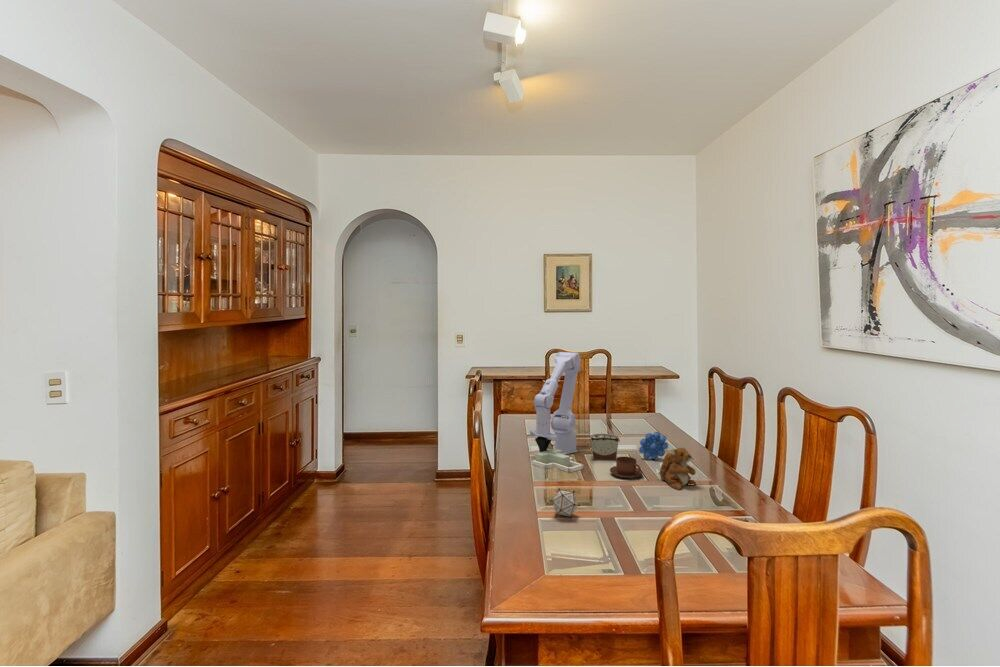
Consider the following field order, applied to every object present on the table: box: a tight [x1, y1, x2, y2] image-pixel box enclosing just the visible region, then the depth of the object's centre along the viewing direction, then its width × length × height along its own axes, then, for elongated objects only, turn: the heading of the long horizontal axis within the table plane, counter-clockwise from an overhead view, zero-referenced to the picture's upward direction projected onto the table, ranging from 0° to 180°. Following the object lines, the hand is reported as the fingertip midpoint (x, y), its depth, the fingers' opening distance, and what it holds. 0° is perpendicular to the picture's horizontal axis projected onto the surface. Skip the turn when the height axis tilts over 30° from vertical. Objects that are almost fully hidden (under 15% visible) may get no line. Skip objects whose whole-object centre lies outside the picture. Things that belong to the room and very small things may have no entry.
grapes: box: [638, 431, 669, 460], centre depth 213 cm, size 12×7×12 cm, turn 70°
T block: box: [534, 448, 571, 468], centre depth 207 cm, size 12×12×4 cm
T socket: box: [532, 456, 585, 473], centre depth 205 cm, size 16×17×2 cm
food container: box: [589, 433, 621, 462], centre depth 215 cm, size 12×6×10 cm, turn 84°
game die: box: [549, 487, 581, 520], centre depth 154 cm, size 9×8×10 cm
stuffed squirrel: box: [658, 447, 697, 491], centre depth 184 cm, size 10×14×13 cm
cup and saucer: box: [609, 456, 644, 479], centre depth 193 cm, size 12×12×6 cm
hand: (543, 455), depth 213 cm, fingers closed
